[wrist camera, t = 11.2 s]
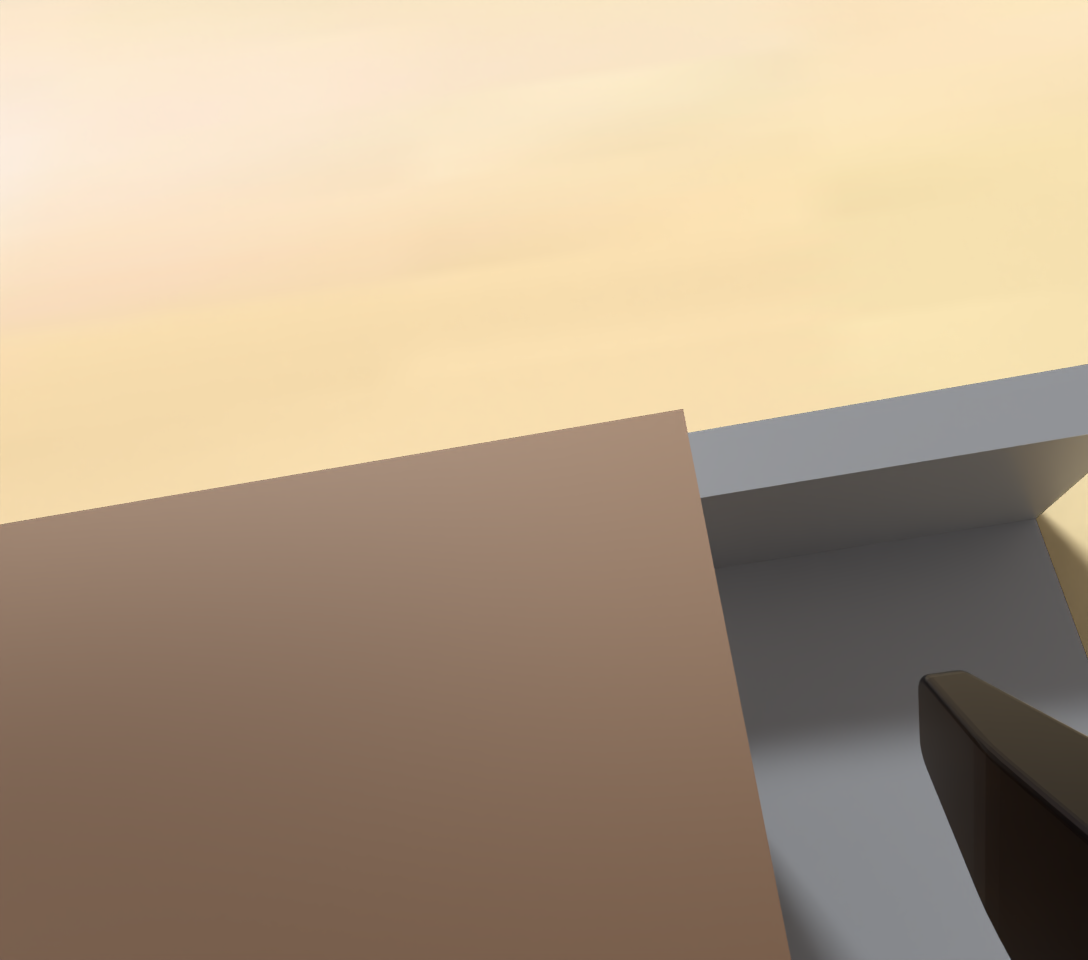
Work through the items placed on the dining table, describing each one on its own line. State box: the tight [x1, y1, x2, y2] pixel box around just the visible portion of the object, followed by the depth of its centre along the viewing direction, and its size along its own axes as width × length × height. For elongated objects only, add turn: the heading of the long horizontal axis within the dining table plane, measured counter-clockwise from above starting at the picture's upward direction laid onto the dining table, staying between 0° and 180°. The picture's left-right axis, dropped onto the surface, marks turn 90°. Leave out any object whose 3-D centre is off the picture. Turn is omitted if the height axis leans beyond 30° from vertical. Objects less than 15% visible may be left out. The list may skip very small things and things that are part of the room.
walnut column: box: [0, 409, 791, 960], centre depth 10 cm, size 5×5×14 cm
